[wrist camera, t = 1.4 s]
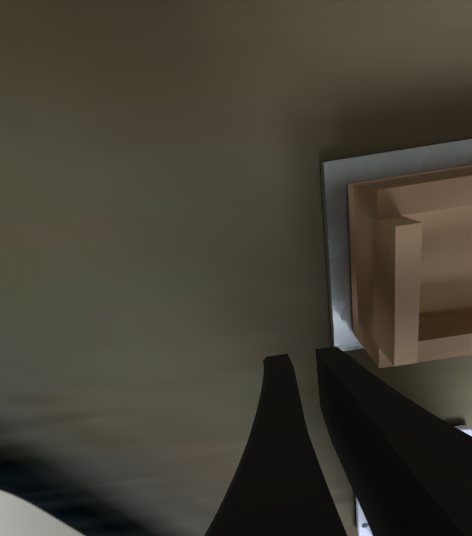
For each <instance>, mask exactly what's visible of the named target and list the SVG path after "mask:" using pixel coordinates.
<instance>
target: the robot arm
mask: <svg viewBox="0 0 472 536" xmlns="http://www.w3.org/2000/svg"><path fill="white" fill-rule="evenodd" d="M316 360H317V372H318V384H319V397H320V407H321V410H322V413H323V417H324V420H325V423H326V426H327V429H328V432H329V435H330V438H331V441H332V443H333V446H334V448H335V450H336V453H337V455H338V457H339V459H340V462H341V464H342V466H343V469H344V471H345V473H346V475H347V477H348V480H349V482H350V484H351V486H352V489H353V491H354V493H355V495H356V516H357V531H358V534H359V536H472V430H471V429H470V428H469V427H468V426H466V425H460V426H452V425H450V424H448V423H447V422H445V421H443V420H441V419H440V418H438V417H436V416H435V415H433V414H431V413H430V412H428V411H426V410H425V409H423V408H422V407H420V406H419V405H417V404H415V403H414V402H412V401H411V400H409V399H408V398H406V397H405V396H403V395H402V394H400V393H399V392H397V391H396V390H394V389H393V388H391V387H390V386H389V385H387V384H386V383H384V382H383V381H382V380H380V379H379V378H377V377H376V376H375V375H373V374H372V373H371V372H369V371H368V370H367V369H365V368H364V367H363V366H361V365H360V364H359V363H358V362H356V361H355V360H354V359H352V358H351V357H350V356H349V355H347V354H346V353H345V352H343V351H342V350H341V349H339V348H338V347H337V346H336V347H329V348H323V349H316ZM263 363H264V376H263V384H262V390H261V395H260V399H259V404H258V408H257V412H256V416H255V419H254V423H253V426H252V429H251V433H250V436H249V439H248V442H247V445H246V447H245V450H244V453H243V455H242V458H241V461H240V463H239V465H238V468H237V470H236V473H235V475H234V477H233V480H232V482H231V484H230V486H229V488H228V491H227V493H226V495H225V497H224V499H223V501H222V503H221V505H220V508H219V510H218V512H217V514H216V515H215V517H214V519H213V521H212V523H211V525H210V527H209V528H208V530H207V532H206V534H205V536H347V534H346V532H345V529H344V527H343V524H342V522H341V519H340V517H339V514H338V512H337V509H336V507H335V504H334V502H333V499H332V497H331V494H330V491H329V489H328V486H327V484H326V481H325V478H324V476H323V473H322V470H321V468H320V465H319V462H318V460H317V457H316V454H315V451H314V449H313V446H312V443H311V440H310V437H309V435H308V431H307V427H306V424H305V420H304V415H303V410H302V405H301V400H300V396H299V391H298V386H297V381H296V376H295V371H294V367H293V365H292V363H291V360H290V358H289V356H288V354H283V355H276V356H269V357H266V358H265V359H264V360H263Z"/></svg>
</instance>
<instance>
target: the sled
mask: <svg viewBox="0 0 472 536" xmlns="http://www.w3.org/2000/svg"><path fill="white" fill-rule="evenodd" d="M348 202H349V229H350V256H351V283H352V310H353V334H354V335H355V337H356V338H357V339H358V341H359V342H360V344H361V345H362V346H363V348H364V349H365V350H366V352H367V353H368V354H369V356H370V357H371V358H372V360H373V361H374V363H375V364H376V365H377V367H378V368H385V367H392V366H401V365H407V364H414V363H419V362H426V361H432V360H439V359H446V358H452V357H459V356H466V355H472V165H465V166H459V167H453V168H446V169H440V170H433V171H427V172H421V173H414V174H408V175H401V176H395V177H389V178H382V179H376V180H369V181H363V182H357V183H350V184H348Z"/></svg>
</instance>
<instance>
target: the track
mask: <svg viewBox="0 0 472 536" xmlns="http://www.w3.org/2000/svg"><path fill="white" fill-rule="evenodd" d="M465 165H472V138H470V139H464V140H457V141H451V142H445V143H438V144H432V145H426V146H419V147H413V148H407V149H400V150H394V151H388V152H381V153H375V154H369V155H362V156H356V157H349V158H343V159H337V160H330V161H324V162H320V168H321V184H322V199H323V215H324V231H325V247H326V263H327V279H328V295H329V311H330V327H331V343H332V347H336V346H337V347H338V348H339V349H341V350H342V351H350V350H357V349H363V346H362V345H361V344H360V342H359V341H358V339H357V338H356V337H355V335H354V334H353V310H352V283H351V256H350V229H349V202H348V184H350V183H357V182H363V181H369V180H376V179H382V178H389V177H395V176H401V175H408V174H414V173H421V172H427V171H433V170H440V169H446V168H453V167H459V166H465Z"/></svg>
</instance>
